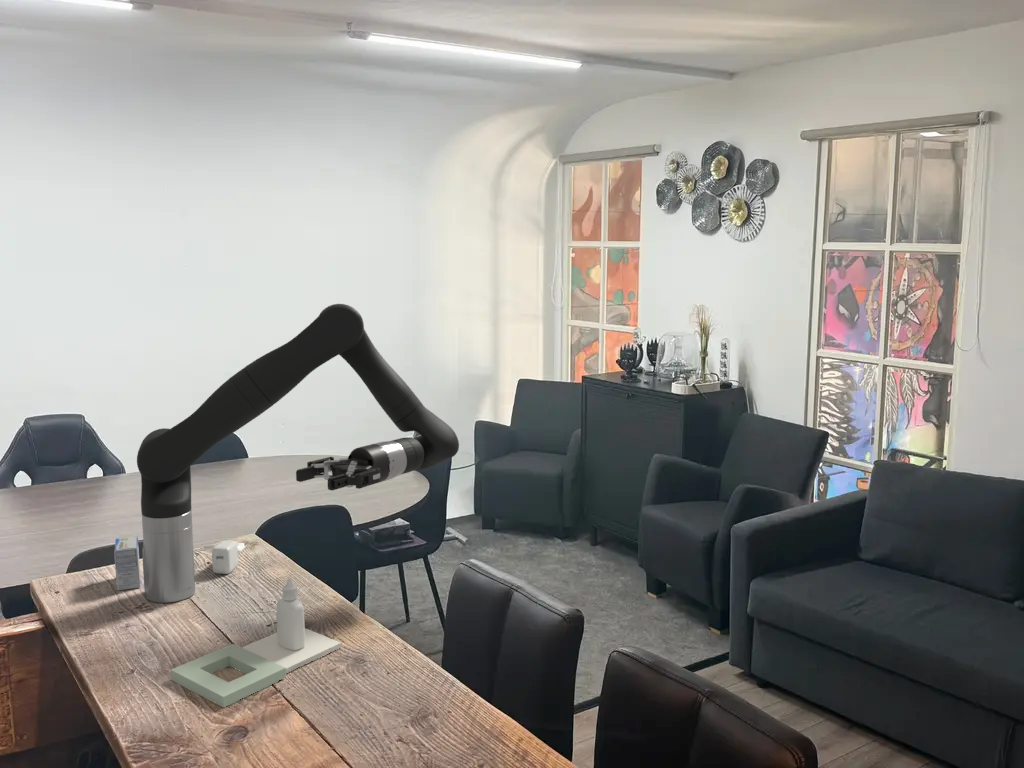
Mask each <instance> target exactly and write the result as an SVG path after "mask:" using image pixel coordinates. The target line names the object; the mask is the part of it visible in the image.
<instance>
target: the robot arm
mask: <svg viewBox="0 0 1024 768" xmlns="http://www.w3.org/2000/svg"><path fill="white" fill-rule="evenodd" d="M337 356H340V357H341V358H342V359H343V360H344V361H345V362H346V363H347V364H348V365H349V366H350V367H351V368H352V369H353V371H354V372H355V373H356V374H357V375H358V376H359V378H360V379H361V380H362V382H363V384H364V385H365V386H366V387H367V389H368V390H369V392H370V393H371V395H372V396H373V397H374V400H376V402H377V403H378V405H379V406H380V407H381V409H382V410H383V412H385V414H386V415H387V416H388V418H389V420H391V421H392V423H394V425H395V426H396V427H397V429H398V430H399V431H401V432H403V433H409V432H417V434H419V436H416V437H407V436H406V437H400V438H397V439H392V440H388V441H387V440H386V441H381V442H380V441H379V442H375V443H371V444H367V445H363V446H359V447H356V448H353V450H352V451H350V453H349V455H348V457H345V458H343V457H342V458H339V459H335V457H334V456H328V457H323V458H320V459H315V460H311V461H308V462H307V463H306V465H307V466H306V467H304V468H299V469H297V470H296V471H295V477H296V478H295V480H296V482H299V483H303V482H305V481H309V480H312V479H319V478H320V479H321V478H322V479H324V480H326V481H327V489H328V491H336V490H339V489H340V490H341V489H342V488H345V487H346V488H350V489H351V488H353V487H354V486H355V489H363V488H366V487H369V486H372V485H376V484H379V483H383V482H385V481H389V480H393V479H394V478H396V477H398V476H400V475H404V474H409V473H411V472H414V471H421V470H422V471H423V470H427V469H430V468H433V467H435V466H438V465H440V464H441V463H444V462H445V461H447V460H450V459H451V458H453V457H455V456H456V455H457V454H458V452H459V448H460V447H459V446H460V442H459V439H458V436H457V434H456V432H455V431H454V429H453V428H452V427H451V426H450V425H449V424H448V423H446V422H445V421H444V420H442V419H441V418H440V417H439V416H437V415H436V414H435V413H434V412H433V411H431V410H430V409H428V408H427V407H425V406H424V404H423V403H422V402H421V400H420V399H419V398H418V396H417V395H416V393H415V392H414V391H413V389H412V388H410V386H409V385H408V384H407V382H406V381H405V380H404V379H403V378H402V377H401V376H400V375H399V374H398V372H397V371H395V369H394V368H393V367H392V366H391V365H390V364H389V363H388V362H387V361H386V360H385V358H384V357H383V356H382V354H381V353H380V352H379V350H377V348H376V347H375V345H374V343H373V342H372V340H371V338H370V336H369V334H368V333H367V331H366V329H365V324H364V319H363V317H362V315H361V314H360V313H359V311H358V310H357V309H355V308H354V307H353V306H351V305H349V304H345V303H334V304H331V305H329V306H327V307H325V308H324V309H322V310H321V312H320V313H319V314H318V316H317V317H316V318H314V320H313V321H312V322H311V323H310V324H309V325H308V326H306V327H305V328H304V329H303V330H301V332H299V333H298V334H297V335H296V336H294V337H293V338H292V339H290V340H289V341H288V342H286V343H284V344H283V345H281V346H279V347H276V348H275V349H273V350H271V351H269V352H267V353H265V354H264V355H262V356H260V357H258V358H257V359H255V360H253V361H251V363H249V364H247V365H245V366H244V367H243V368H241V369H240V370H238V371H237V372H236V373H235V374H234V375H232V376H230V377H229V378H228V379H227V380H226V381H225V382H223V383H222V384H221V385H220V386H219V387H218V388H217V389H216V390H215V391H214V392H212V394H211V395H210V396H209V397H208V398H207V399H205V400H204V402H203V403H202V404H201V405H200V406H199V407H198V408H197V409H196V410H195V411H194V412H193V413H192V414H191V415H189V416H188V417H186V418H185V419H184V420H182V421H180V422H179V423H177V424H175V425H174V426H173V427H171V428H163V427H162V428H159V429H155V430H153V431H151V432H149V434H147V435H146V436H145V437H144V438H143V440H142V442H141V444H140V446H139V449H138V451H137V455H136V464H137V468H138V471H139V473H140V477H141V479H140V481H141V496H140V508H141V522H142V523H141V524H142V525H141V526H142V542H143V543H142V544H143V546H142V548H141V553H142V554H141V555H142V556H141V557H142V573H143V574H142V575H143V588H144V591H143V592H144V593H145V595H146V598H147V600H149V601H150V602H154V603H161V604H162V603H164V604H165V603H166V604H167V603H174V602H180V601H184V600H185V599H189V598H190V597H193V595H195V593H196V578H195V577H196V575H195V573H196V571H195V556H194V554H195V553H194V552H195V551H194V550H195V549H194V534H193V533H194V531H193V514H192V513H193V512H192V510H193V509H192V478H191V477H192V475H191V466H192V465H193V464H194V463H195V462H197V460H199V459H200V458H201V457H202V456H203V455H204V454H205V453H207V452H208V451H209V450H210V449H211V448H213V447H214V446H215V445H217V444H218V443H219V442H221V441H222V440H223V439H226V438H228V437H229V436H231V435H232V434H233V433H235V432H237V431H238V430H240V429H242V428H243V427H244V426H246V425H247V424H248V423H250V422H252V421H253V420H254V419H255V420H256V418H258V417H259V416H261V415H262V414H264V412H266V411H267V410H269V409H270V408H271V407H273V406H274V405H275V404H277V402H279V401H281V400H282V399H283V398H284V397H285V396H286V395H288V394H289V393H290V392H291V391H292V390H293V389H295V388H296V387H297V386H298V385H299V384H300V383H301V382H302V381H303V380H304V379H305V378H307V376H308V375H310V374H311V373H312V372H313V371H315V370H317V369H318V368H319V367H320V366H322V365H324V364H325V363H327V362H328V361H331V360H332V359H333V358H335V357H337ZM329 473H331V475H330V474H329Z"/></svg>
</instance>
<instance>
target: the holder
mask: <svg viewBox="0 0 1024 768" xmlns="http://www.w3.org/2000/svg"><path fill="white" fill-rule="evenodd" d="M227 667H231V668H233V669H235V668H236V669H235V670H236V671H239V670H240V671H239V672H241V673H243V674H244V675H242V676H239V677H237V678H235V679H233V680H231V681H226V680H224V679H223V678H220V677H218V676H216V675H214V674H213V673H216V672H218V671H220V670H223V669H225V668H227ZM245 673H246V674H245ZM284 678H285V679H287V674H286V668H285V667H283V666H281V665H278V664H276V663H274V662H272V661H270V660H267V659H265V658H263V657H261V656H259V655H256V654H254V653H252V652H250V651H248V650H246V649H243V648H242V646H239V645H237V644H234V643H231V644H229V645H227V646H225V647H222V648H219V649H217V650H214V651H212V652H210V653H206V654H205V655H202V656H200V657H198V658H196V659H193V660H190V661H189V662H186V663H184V664H181V665H178V666H176V667H174V668H171V669H170V680H171V681H173V682H175V683H176V684H179V685H180V686H181V687H184V688H186V689H187V690H190V691H192V692H193V693H195V694H198V695H199V696H201V697H202V698H205V699H207V700H209V702H210V701H211V702H212V703H214V704H216V705H217V706H219V707H222V708H226V706H227V707H228V705H229V706H231V705H233V704H236V703H237V702H240V701H241V700H243V699H245V698H248V697H249V695H250V696H252V695H253V693H254V694H256V693H258V692H260V691H263V690H264V689H266V688H268V687H271V686H273V685H274V683H275V684H277V683H278V682H277V681H279V680H281V679H283V680H285V679H284ZM281 681H282V680H281ZM276 682H277V683H276ZM279 682H280V681H279ZM272 684H273V685H272ZM265 687H266V688H265ZM263 688H264V689H263ZM257 691H258V692H257ZM255 692H256V693H255ZM251 694H252V695H251ZM242 698H243V699H242ZM240 699H241V700H240Z"/></svg>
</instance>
